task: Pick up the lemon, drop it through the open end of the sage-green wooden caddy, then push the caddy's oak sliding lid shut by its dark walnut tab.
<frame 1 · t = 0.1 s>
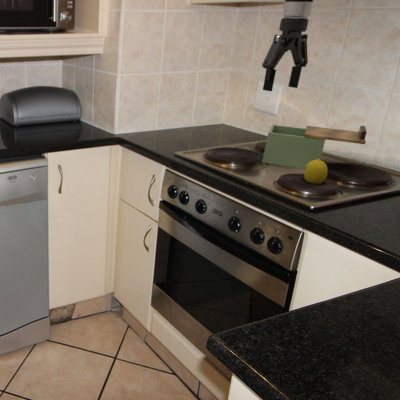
hand: (280, 89, 152), 22 cm above the countertop, tool pointing down, fingers open, 13 cm apart
lemon: (312, 187, 133), on the countertop
caddy: (290, 161, 154), on the countertop
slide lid: (335, 130, 145), point 12 cm above the countertop, slide at 10.0 cm
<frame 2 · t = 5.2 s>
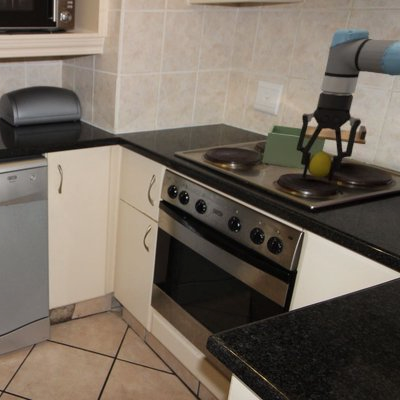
hand: (317, 177, 132), 3 cm above the countertop, tool pointing down, fingers closed on lemon, 5 cm apart
lemon: (317, 179, 132), point 2 cm above the countertop, touching gripper
everything else where it was.
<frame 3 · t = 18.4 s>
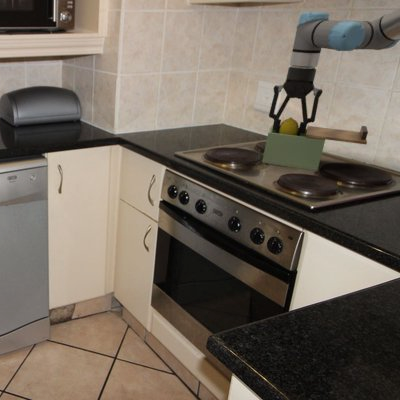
hand: (286, 141, 153), 6 cm above the countertop, tool pointing down, fingers closed on lemon, 6 cm apart
lemon: (286, 143, 153), point 6 cm above the countertop, touching gripper
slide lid: (336, 130, 145), point 12 cm above the countertop, slide at 10.3 cm, touching gripper
when the fingers open (6 cm above the countertop, at t = 18.4 s): lemon drops 5 cm, resting on caddy.
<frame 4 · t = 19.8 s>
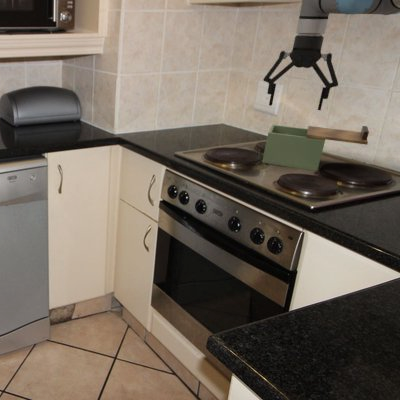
hand: (294, 107, 148), 17 cm above the countertop, tool pointing down, fingers open, 13 cm apart
lemon: (282, 158, 155), point 1 cm above the countertop, touching caddy
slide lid: (337, 130, 145), point 12 cm above the countertop, slide at 10.5 cm
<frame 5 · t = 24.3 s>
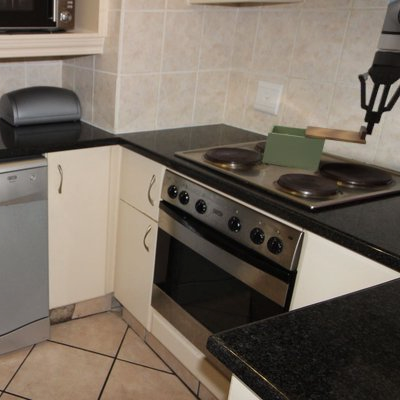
hand: (368, 133, 141), 12 cm above the countertop, tool pointing down, fingers closed
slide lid: (335, 130, 145), point 12 cm above the countertop, slide at 10.1 cm, touching gripper
everything else where it was.
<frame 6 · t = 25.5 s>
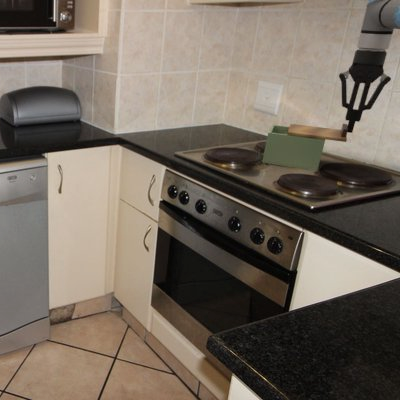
hand: (349, 131, 143), 12 cm above the countertop, tool pointing down, fingers closed
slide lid: (317, 128, 147), point 12 cm above the countertop, slide at 5.3 cm, touching gripper
everything else where it was.
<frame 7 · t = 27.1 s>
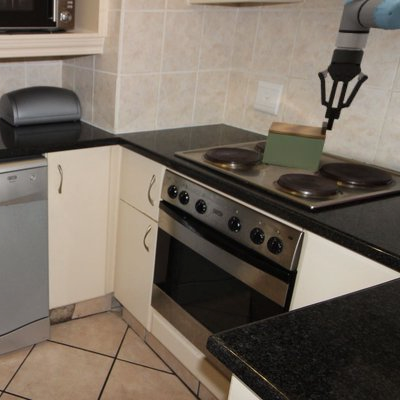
hand: (328, 129, 146), 12 cm above the countertop, tool pointing down, fingers closed
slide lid: (298, 126, 149), point 12 cm above the countertop, slide at 0.0 cm, touching gripper
everything else where it was.
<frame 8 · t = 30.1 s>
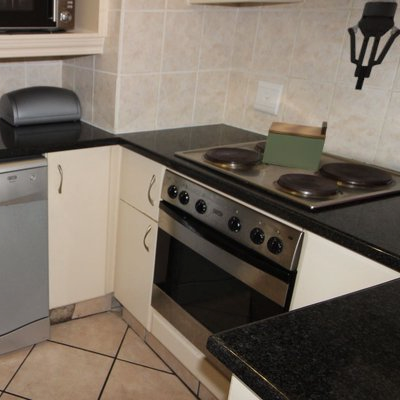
hand: (358, 89, 139), 24 cm above the countertop, tool pointing down, fingers closed
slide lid: (298, 126, 149), point 12 cm above the countertop, slide at 0.0 cm
everything else where it was.
at the end: lemon inside the target area on the caddy (2.5 cm from its centre), point 0.6 cm above the caddy's base; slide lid slide at 0.0 cm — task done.
